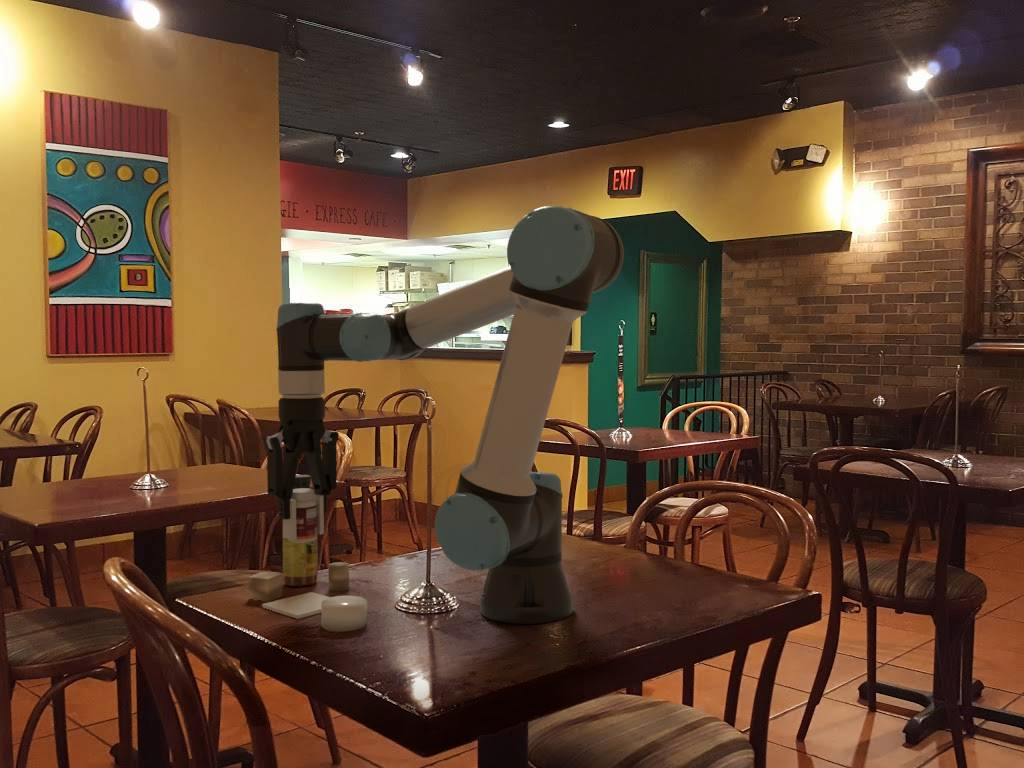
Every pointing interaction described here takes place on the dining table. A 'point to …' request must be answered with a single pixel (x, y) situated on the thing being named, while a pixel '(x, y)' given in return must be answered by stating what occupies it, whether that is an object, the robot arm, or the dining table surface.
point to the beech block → (265, 586)
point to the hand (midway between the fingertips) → (303, 535)
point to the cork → (338, 576)
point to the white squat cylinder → (343, 613)
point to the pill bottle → (305, 515)
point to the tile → (298, 605)
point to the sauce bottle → (300, 553)
